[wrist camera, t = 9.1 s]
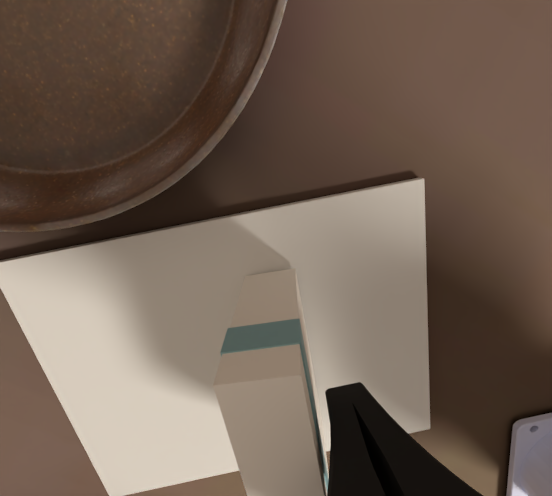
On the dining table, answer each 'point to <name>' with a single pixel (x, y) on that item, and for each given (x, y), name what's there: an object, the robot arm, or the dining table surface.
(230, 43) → the plant saucer
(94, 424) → the mat
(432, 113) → the dining table surface
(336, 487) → the robot arm
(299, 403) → the card deck
